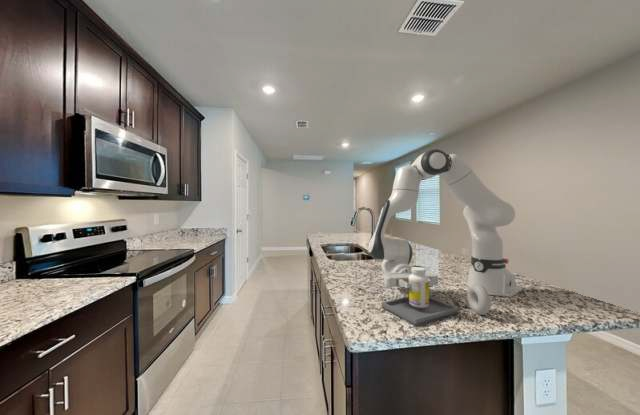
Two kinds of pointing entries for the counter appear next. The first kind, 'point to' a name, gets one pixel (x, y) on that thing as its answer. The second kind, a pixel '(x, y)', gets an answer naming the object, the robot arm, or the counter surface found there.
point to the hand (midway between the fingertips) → (419, 285)
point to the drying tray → (419, 310)
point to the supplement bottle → (419, 288)
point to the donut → (478, 299)
